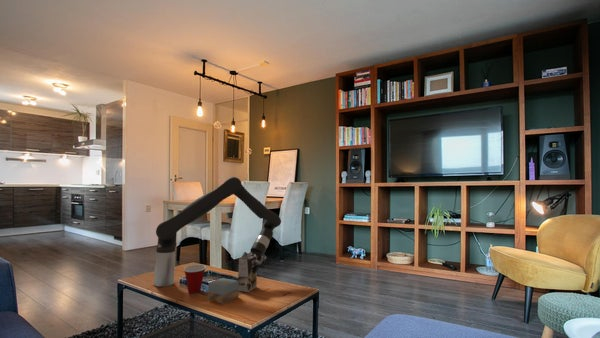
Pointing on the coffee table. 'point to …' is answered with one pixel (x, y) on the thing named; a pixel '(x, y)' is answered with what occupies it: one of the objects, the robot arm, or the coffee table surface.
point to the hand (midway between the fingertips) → (246, 271)
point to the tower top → (223, 286)
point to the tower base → (223, 297)
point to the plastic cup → (194, 277)
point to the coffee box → (247, 274)
